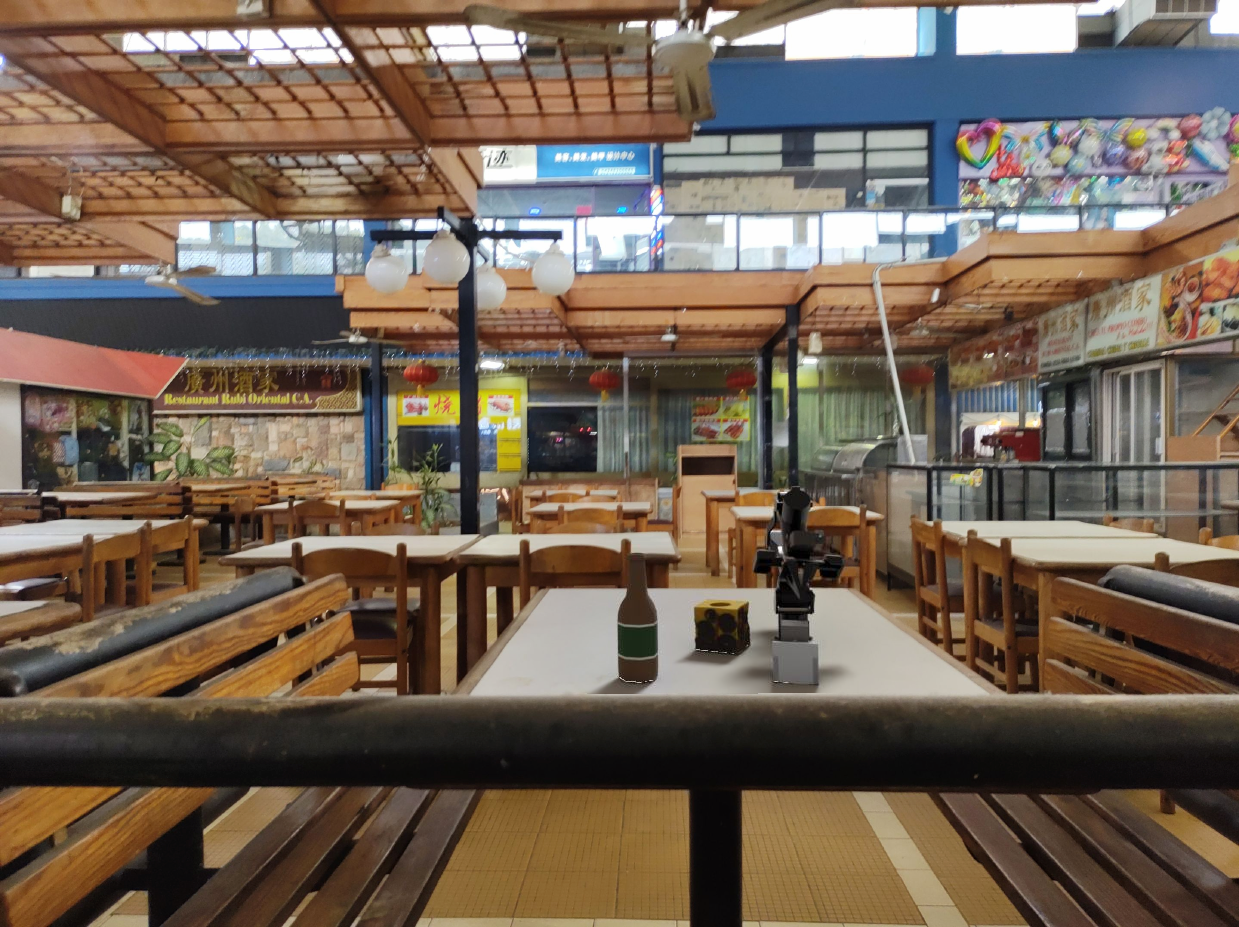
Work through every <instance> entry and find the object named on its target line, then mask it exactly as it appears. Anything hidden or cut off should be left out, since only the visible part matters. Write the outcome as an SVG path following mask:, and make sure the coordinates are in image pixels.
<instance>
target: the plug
mask: <svg viewBox="0 0 1239 927" xmlns="http://www.w3.org/2000/svg"><path fill="white" fill-rule="evenodd" d="M791 640H792V641H799V642H810V640H809V636H808V621H797V620H781V640H780V641H783V642H791Z"/></svg>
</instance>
